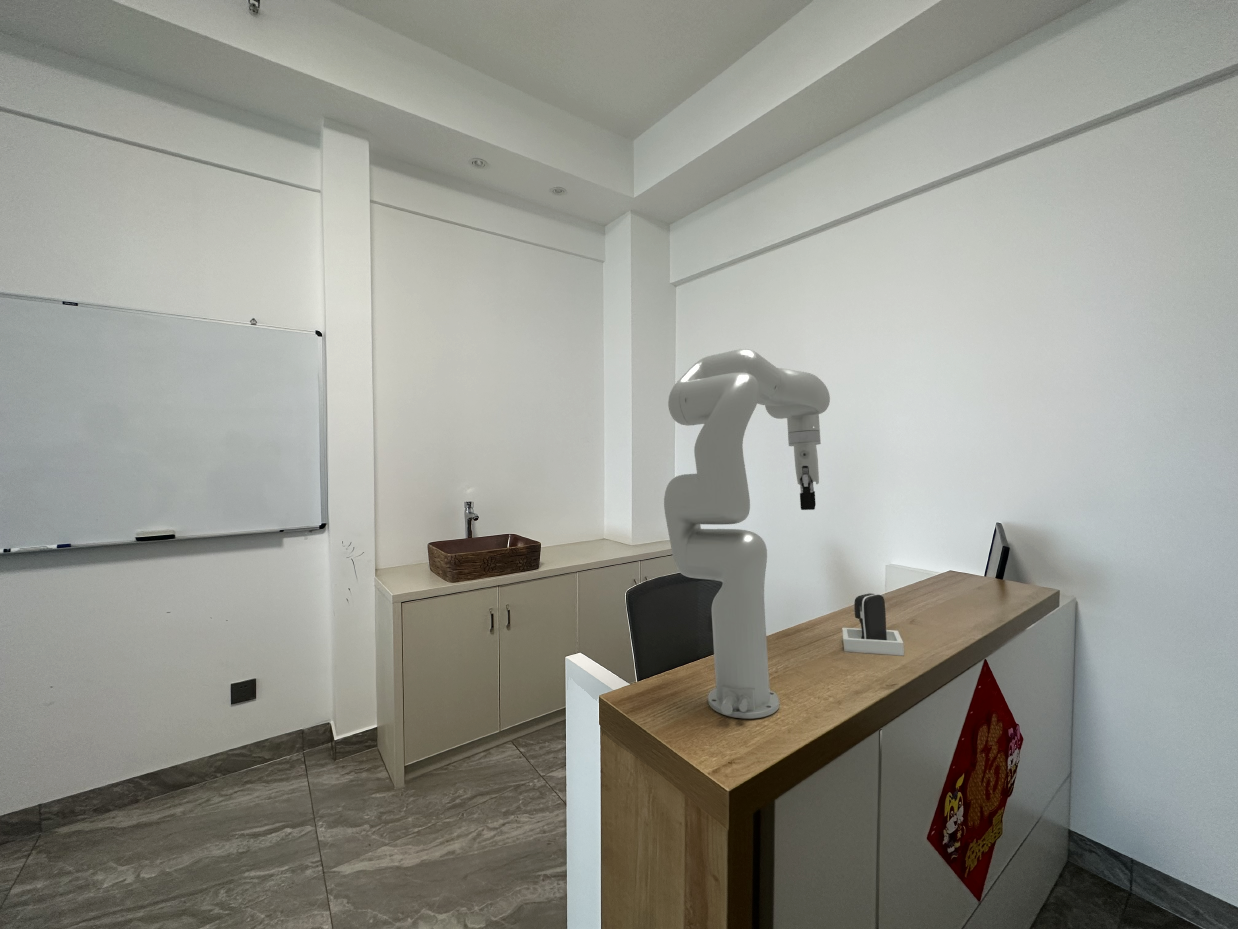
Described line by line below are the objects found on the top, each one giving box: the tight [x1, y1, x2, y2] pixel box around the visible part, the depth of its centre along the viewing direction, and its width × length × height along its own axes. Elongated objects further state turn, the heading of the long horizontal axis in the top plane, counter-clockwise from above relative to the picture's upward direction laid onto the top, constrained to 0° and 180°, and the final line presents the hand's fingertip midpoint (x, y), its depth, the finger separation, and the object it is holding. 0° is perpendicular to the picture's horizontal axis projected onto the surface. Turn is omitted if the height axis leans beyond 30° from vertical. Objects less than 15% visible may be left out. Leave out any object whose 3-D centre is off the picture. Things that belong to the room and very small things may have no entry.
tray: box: [841, 627, 905, 657], centre depth 118 cm, size 9×12×3 cm
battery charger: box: [853, 592, 887, 640], centre depth 119 cm, size 7×4×11 cm, turn 118°
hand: (808, 508), depth 126 cm, fingers open, 9 cm apart
